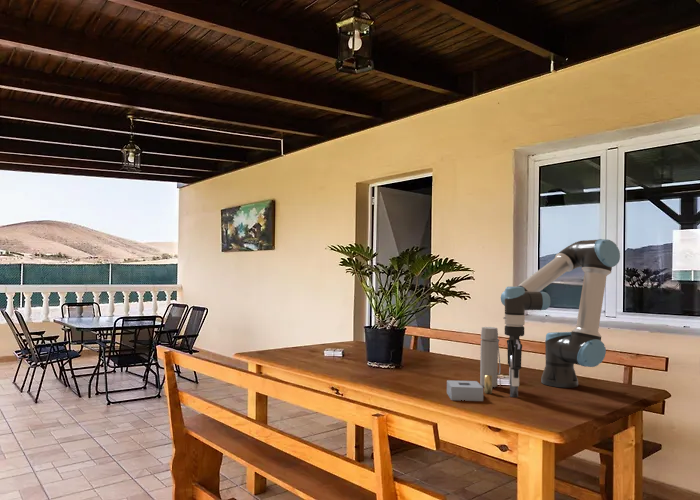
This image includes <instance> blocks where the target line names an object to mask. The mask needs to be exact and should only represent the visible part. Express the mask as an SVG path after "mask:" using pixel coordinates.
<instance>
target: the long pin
mask: <svg viewBox="0 0 700 500" xmlns="http://www.w3.org/2000/svg"><path fill="white" fill-rule="evenodd" d="M511 368H513V363H512V355H510V384H509V397H511V398H519V386H512V369H511Z"/></svg>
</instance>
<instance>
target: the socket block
mask: <svg viewBox="0 0 700 500" xmlns="http://www.w3.org/2000/svg"><path fill="white" fill-rule="evenodd" d="M446 395H447V396H448V397H449V399H450V400H451V401H461V400H462V401H463V402H464V400H465V402H466V401H467V402H484V387H483V386H481V384H480V383H479V382H478V381H477V380H450V379H448V380H446Z"/></svg>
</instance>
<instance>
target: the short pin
mask: <svg viewBox="0 0 700 500" xmlns="http://www.w3.org/2000/svg"><path fill="white" fill-rule="evenodd" d="M483 394H486V395H488V394H489V395H490V394H493V388H492V375H485V379H484V387H483Z"/></svg>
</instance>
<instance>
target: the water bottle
mask: <svg viewBox="0 0 700 500" xmlns="http://www.w3.org/2000/svg"><path fill="white" fill-rule="evenodd" d="M480 331H481V332H480V337H479V338H480V364H479V366H480V368H479V369H480V370H479V371H480V376H479V378H480V380H479V382H480V383H479V384H480V385H481V386H482V387H483V388H484V379H485V375H492V389H493V387H494V388H496V387H497V386H498V377H499V375H501V370H502V369H501V368H502V367H501V357H500V348H499V345H500V344H499V342H500V339H499V332H498V331H499V330H498V328H497V327H494V326H493V327H492V326H484V327H483V326H482V327H481V330H480ZM498 366H499V370H498Z"/></svg>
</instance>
